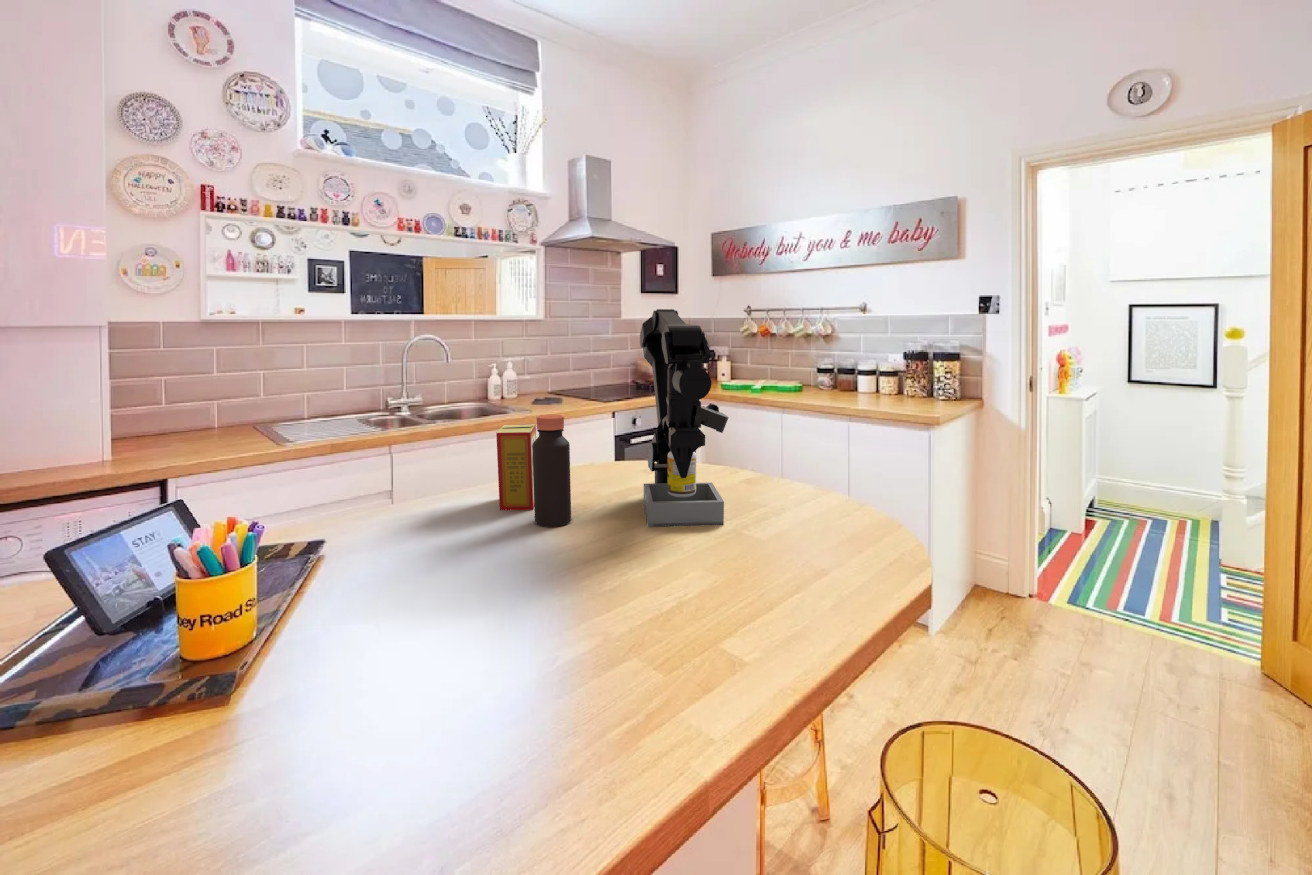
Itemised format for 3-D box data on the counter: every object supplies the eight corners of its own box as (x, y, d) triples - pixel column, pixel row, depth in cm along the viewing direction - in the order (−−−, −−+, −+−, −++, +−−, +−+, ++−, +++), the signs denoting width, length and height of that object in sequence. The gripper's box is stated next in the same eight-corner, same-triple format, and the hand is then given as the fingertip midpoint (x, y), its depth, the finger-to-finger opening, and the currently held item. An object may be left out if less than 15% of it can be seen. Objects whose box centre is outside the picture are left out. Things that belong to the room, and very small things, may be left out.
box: (647, 526, 120) (647, 503, 119) (643, 504, 133) (643, 483, 132) (723, 525, 121) (724, 501, 120) (711, 503, 134) (712, 482, 133)
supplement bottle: (672, 489, 130) (673, 438, 128) (699, 491, 128) (700, 440, 126) (663, 496, 125) (663, 443, 123) (691, 499, 123) (691, 446, 121)
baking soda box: (533, 509, 130) (530, 430, 127) (499, 510, 130) (496, 431, 127) (538, 496, 139) (535, 422, 136) (507, 497, 139) (503, 423, 136)
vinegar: (568, 528, 119) (565, 419, 115) (531, 527, 119) (527, 419, 115) (573, 516, 125) (571, 413, 122) (538, 516, 126) (535, 413, 122)
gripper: (734, 399, 114) (732, 486, 117) (717, 387, 132) (715, 462, 135) (671, 400, 113) (670, 487, 116) (662, 387, 131) (661, 463, 134)
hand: (681, 473), depth 125 cm, fingers closed on supplement bottle, 6 cm apart
